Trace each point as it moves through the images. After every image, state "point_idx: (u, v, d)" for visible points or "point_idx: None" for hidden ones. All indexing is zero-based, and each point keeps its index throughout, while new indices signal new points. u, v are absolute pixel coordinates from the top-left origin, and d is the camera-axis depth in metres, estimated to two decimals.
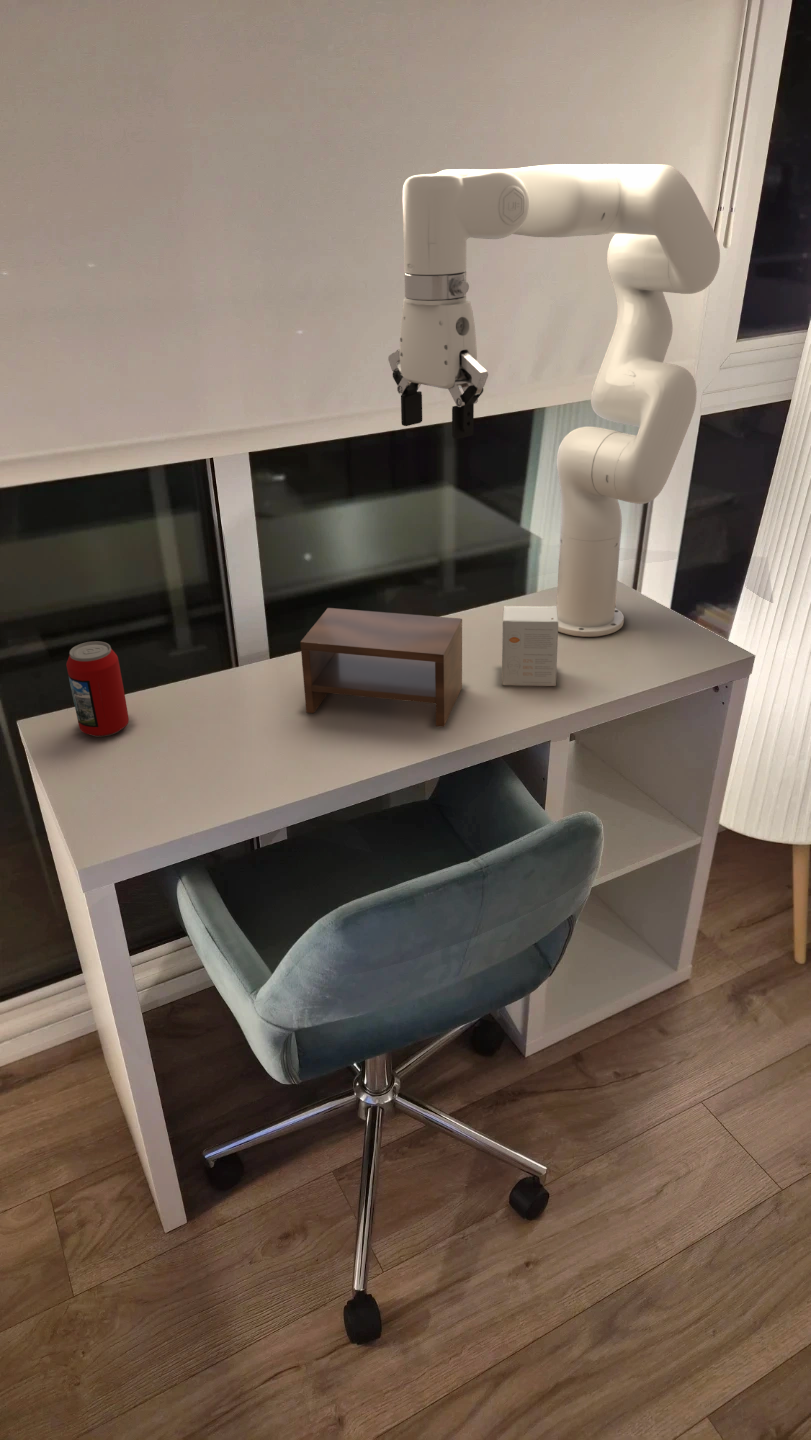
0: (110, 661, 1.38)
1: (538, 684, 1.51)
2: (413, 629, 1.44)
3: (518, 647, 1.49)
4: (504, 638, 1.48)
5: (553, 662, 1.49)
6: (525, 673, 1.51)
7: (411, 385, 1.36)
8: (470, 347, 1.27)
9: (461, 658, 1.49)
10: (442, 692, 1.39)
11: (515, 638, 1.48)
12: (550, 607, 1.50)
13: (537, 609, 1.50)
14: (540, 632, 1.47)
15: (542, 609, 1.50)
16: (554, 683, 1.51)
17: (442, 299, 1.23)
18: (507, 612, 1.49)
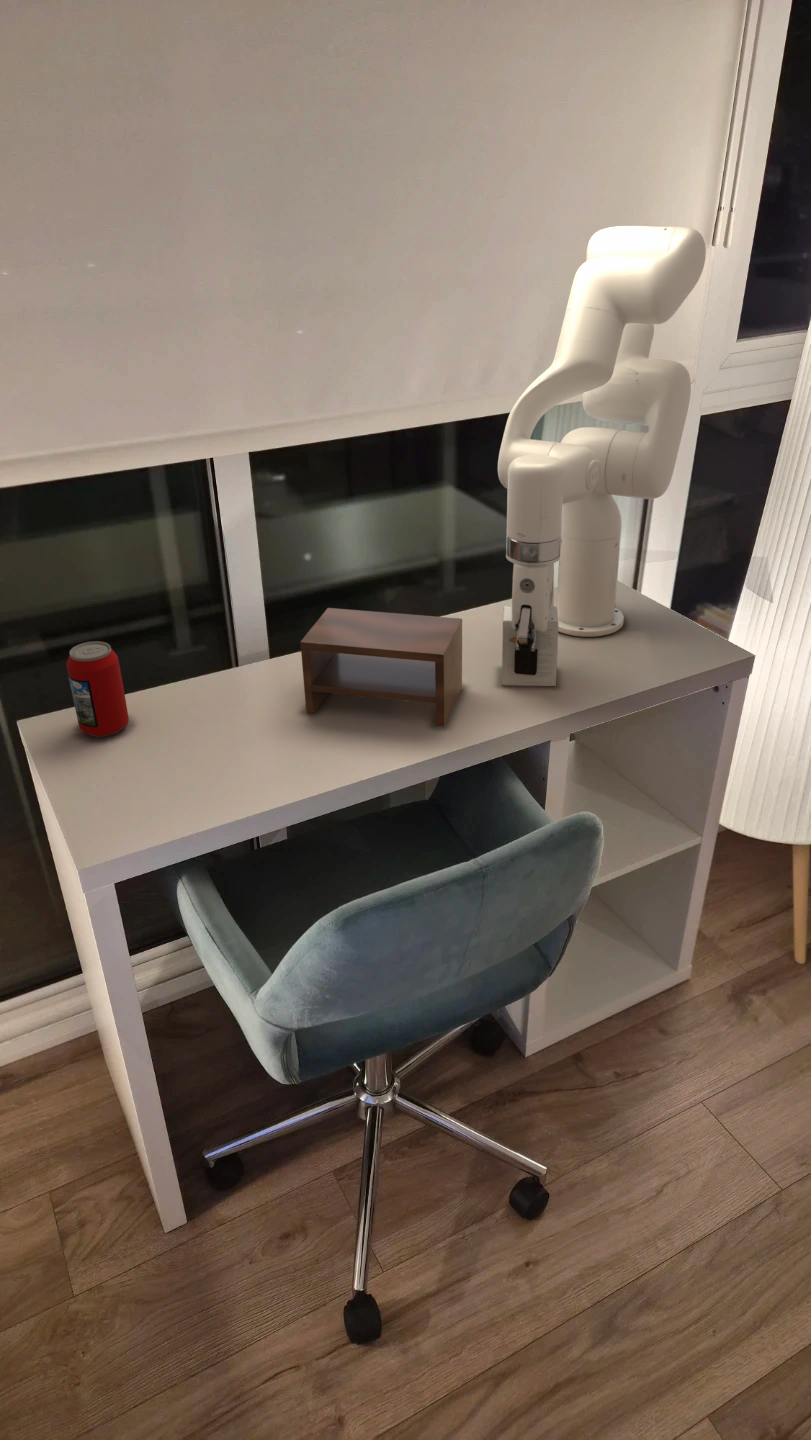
0: (110, 661, 1.38)
1: (538, 684, 1.51)
2: (413, 629, 1.44)
3: None
4: (504, 638, 1.48)
5: (553, 662, 1.49)
6: None
7: None
8: (534, 604, 1.43)
9: (461, 658, 1.49)
10: (442, 692, 1.39)
11: (515, 639, 1.48)
12: None
13: None
14: (540, 632, 1.47)
15: None
16: (554, 683, 1.51)
17: (516, 559, 1.42)
18: (507, 612, 1.49)
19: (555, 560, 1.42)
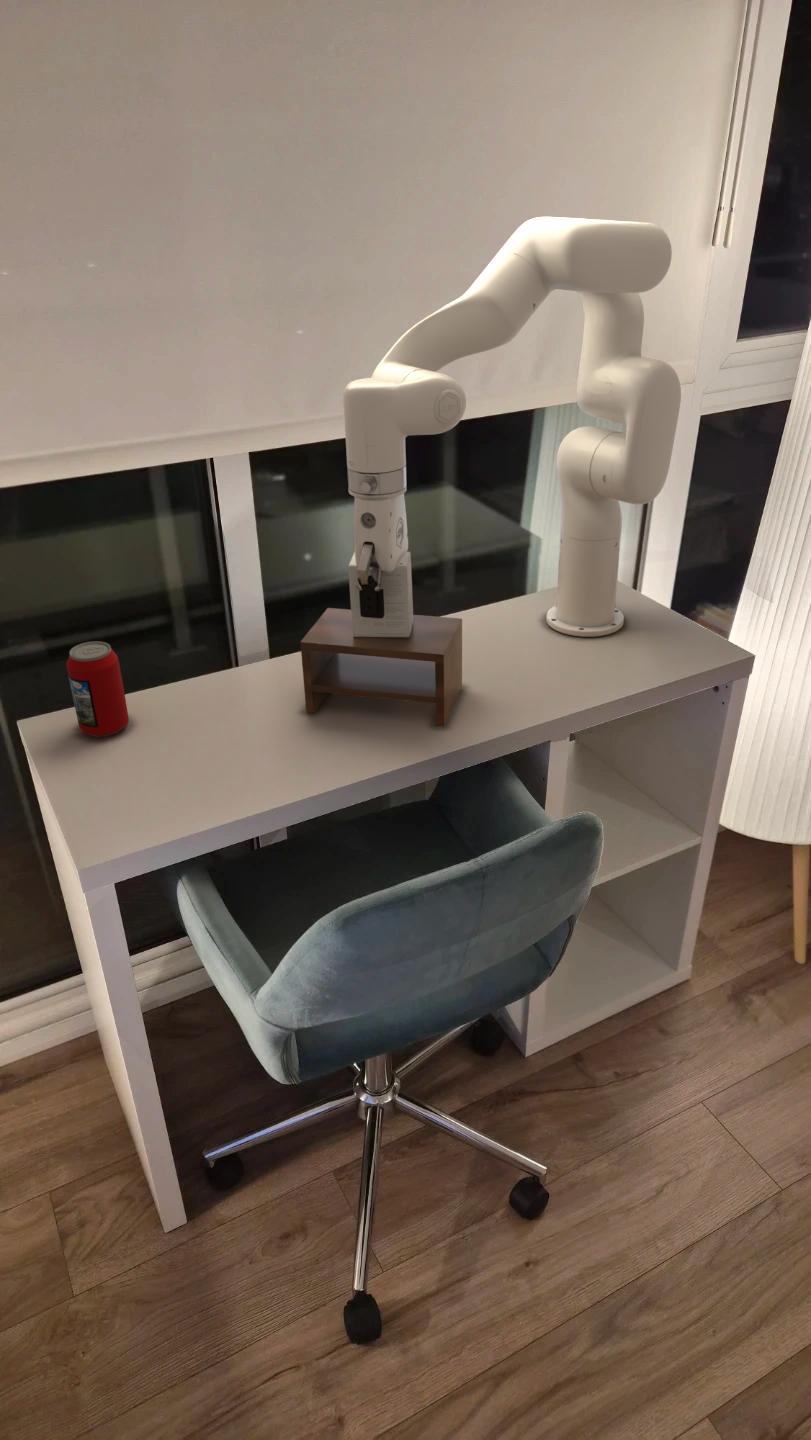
0: (110, 661, 1.38)
1: (391, 635, 1.41)
2: (413, 629, 1.44)
3: None
4: (351, 585, 1.38)
5: (405, 611, 1.39)
6: (376, 624, 1.41)
7: None
8: (376, 541, 1.32)
9: (461, 658, 1.49)
10: (442, 692, 1.39)
11: None
12: None
13: None
14: (388, 578, 1.37)
15: None
16: (408, 634, 1.41)
17: (356, 492, 1.32)
18: None
19: (399, 493, 1.32)
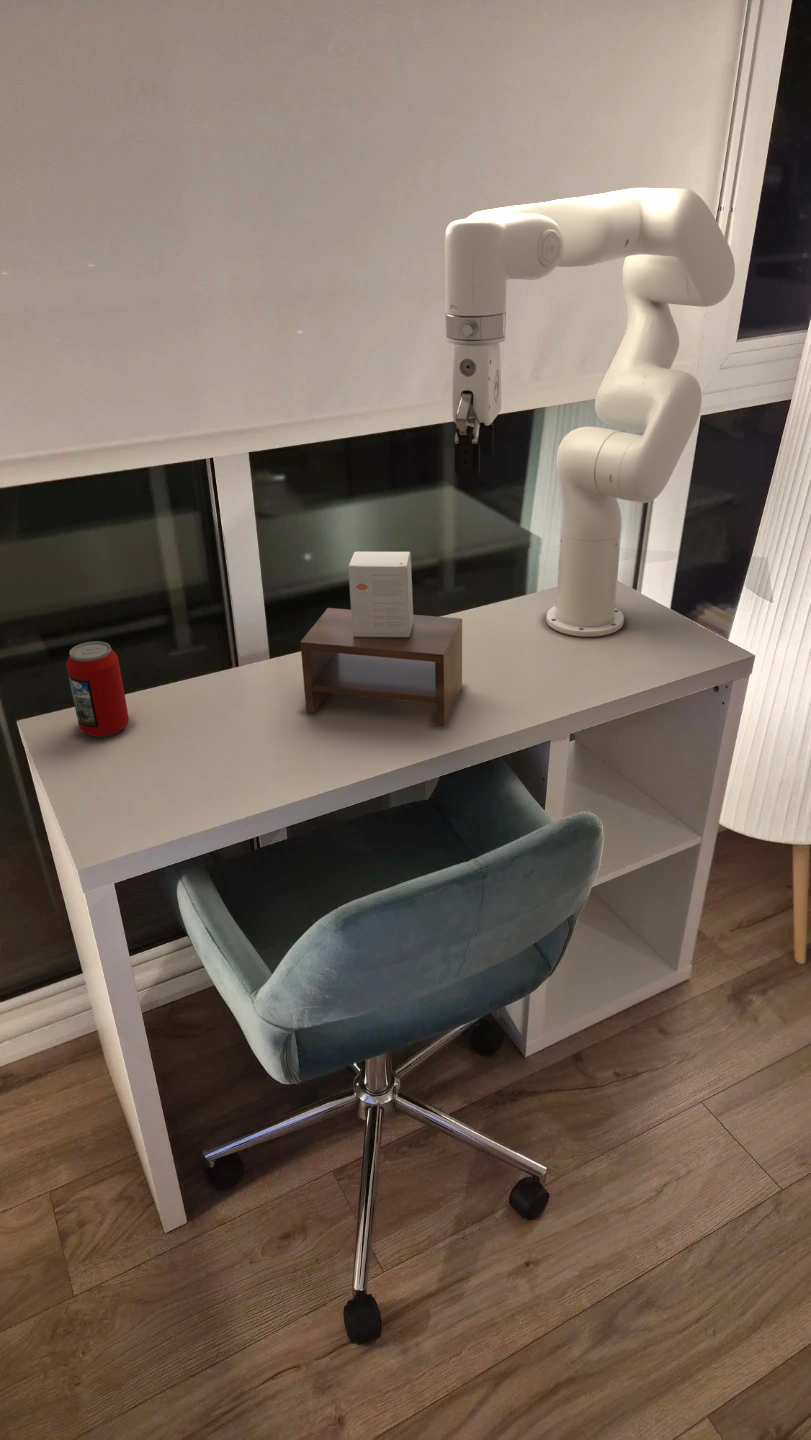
0: (110, 661, 1.38)
1: (391, 635, 1.41)
2: (413, 629, 1.44)
3: (366, 594, 1.39)
4: (351, 585, 1.38)
5: (405, 611, 1.39)
6: (376, 624, 1.41)
7: None
8: (476, 389, 1.29)
9: (461, 658, 1.49)
10: (442, 692, 1.39)
11: (363, 585, 1.38)
12: (403, 552, 1.40)
13: (388, 554, 1.40)
14: (388, 578, 1.37)
15: (393, 554, 1.40)
16: (408, 634, 1.41)
17: (455, 338, 1.28)
18: (355, 557, 1.39)
19: (499, 340, 1.28)
